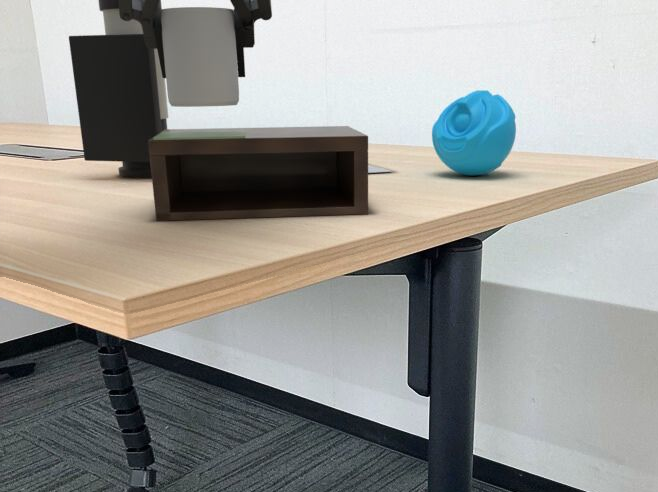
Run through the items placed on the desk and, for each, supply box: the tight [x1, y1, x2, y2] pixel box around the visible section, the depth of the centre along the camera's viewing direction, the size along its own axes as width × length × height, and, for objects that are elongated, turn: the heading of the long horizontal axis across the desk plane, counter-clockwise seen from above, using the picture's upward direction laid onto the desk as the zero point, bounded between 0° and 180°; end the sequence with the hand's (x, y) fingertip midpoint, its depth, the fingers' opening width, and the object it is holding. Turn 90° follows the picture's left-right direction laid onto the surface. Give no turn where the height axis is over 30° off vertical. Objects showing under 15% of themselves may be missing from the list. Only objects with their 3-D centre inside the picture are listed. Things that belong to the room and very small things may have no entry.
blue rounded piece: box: [431, 89, 517, 177], centre depth 106 cm, size 12×11×12 cm
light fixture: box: [68, 0, 169, 179], centre depth 107 cm, size 12×11×25 cm
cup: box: [160, 6, 240, 108], centre depth 76 cm, size 7×10×9 cm
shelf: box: [148, 125, 369, 222], centre depth 84 cm, size 22×16×8 cm
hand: (203, 67), depth 80 cm, fingers closed on cup, 7 cm apart
